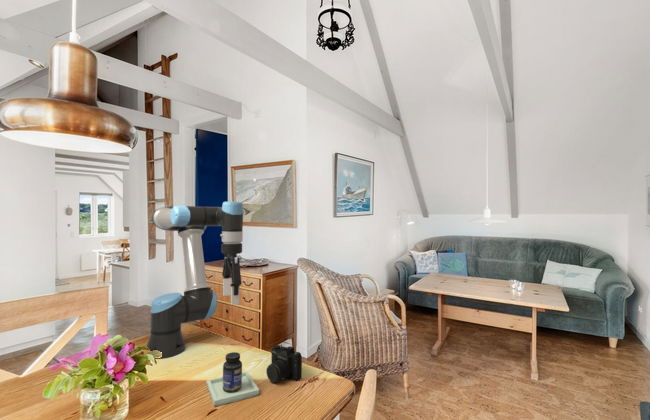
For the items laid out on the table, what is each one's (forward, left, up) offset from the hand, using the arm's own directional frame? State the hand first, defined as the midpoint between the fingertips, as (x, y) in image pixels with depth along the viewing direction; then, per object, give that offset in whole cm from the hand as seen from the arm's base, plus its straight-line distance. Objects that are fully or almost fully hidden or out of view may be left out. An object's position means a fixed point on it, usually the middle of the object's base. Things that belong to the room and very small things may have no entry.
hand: (230, 299), depth 121 cm
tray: (+14, -2, -27) cm, 30 cm away
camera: (+12, +16, -27) cm, 34 cm away
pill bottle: (+14, -2, -26) cm, 30 cm away
